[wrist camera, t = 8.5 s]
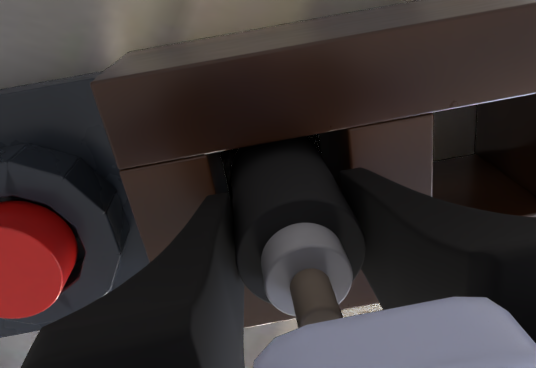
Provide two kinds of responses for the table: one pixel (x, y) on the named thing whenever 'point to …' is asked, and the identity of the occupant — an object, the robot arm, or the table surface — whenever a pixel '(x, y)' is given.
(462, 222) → the robot arm
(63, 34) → the table surface
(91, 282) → the control box
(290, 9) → the table surface
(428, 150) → the stand
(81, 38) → the table surface
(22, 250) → the power button
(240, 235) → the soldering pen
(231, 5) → the table surface
